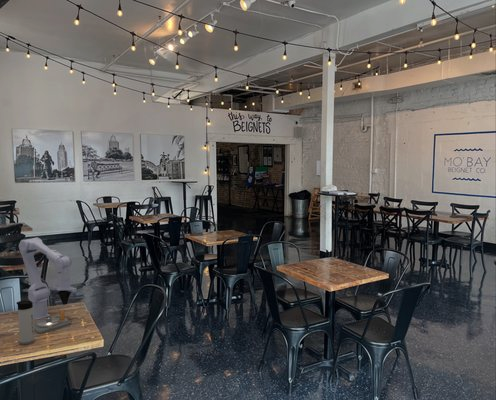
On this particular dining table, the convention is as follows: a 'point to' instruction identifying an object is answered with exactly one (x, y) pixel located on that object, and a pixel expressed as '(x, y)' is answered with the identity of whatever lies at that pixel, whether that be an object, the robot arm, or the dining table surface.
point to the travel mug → (25, 322)
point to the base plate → (50, 327)
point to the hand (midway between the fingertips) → (65, 304)
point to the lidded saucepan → (52, 320)
